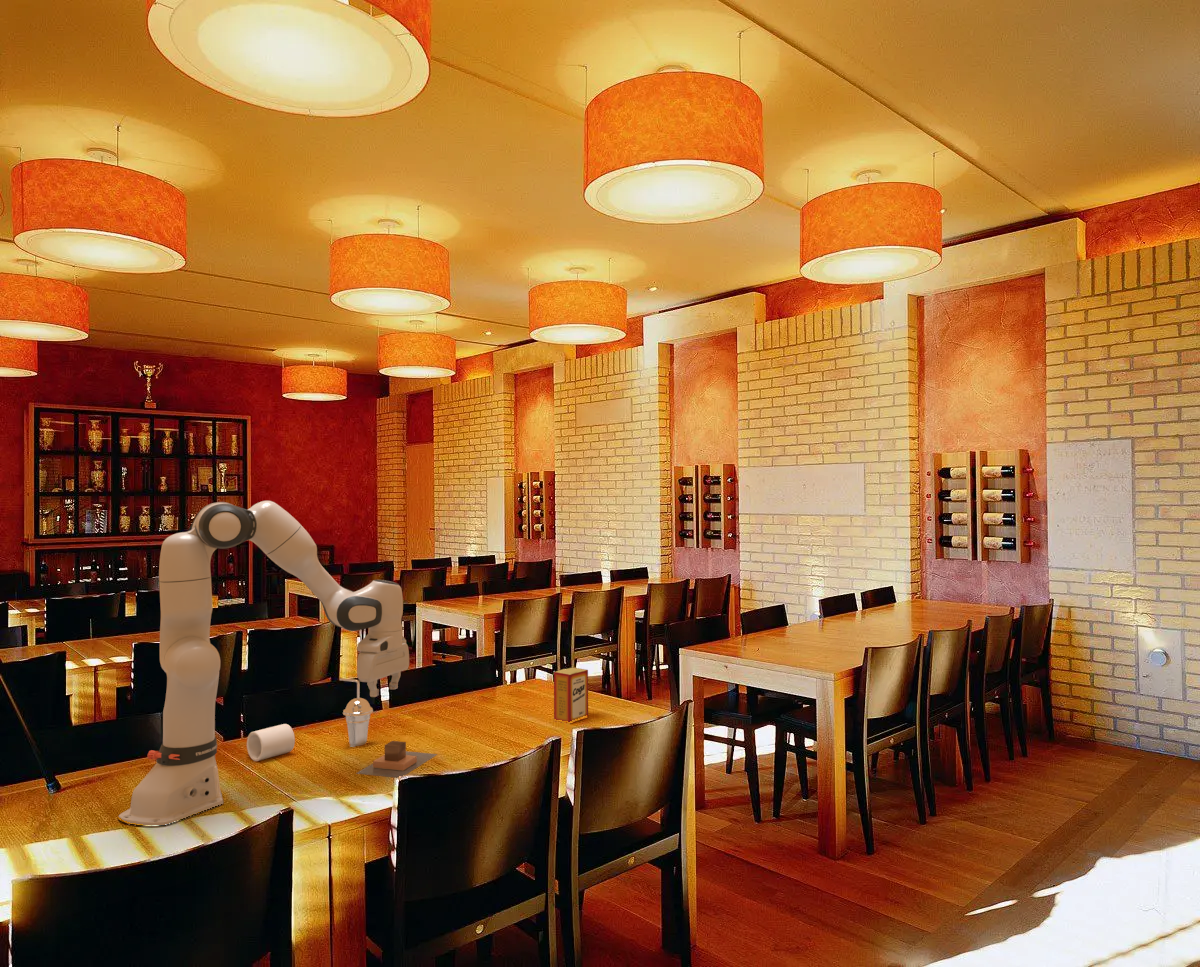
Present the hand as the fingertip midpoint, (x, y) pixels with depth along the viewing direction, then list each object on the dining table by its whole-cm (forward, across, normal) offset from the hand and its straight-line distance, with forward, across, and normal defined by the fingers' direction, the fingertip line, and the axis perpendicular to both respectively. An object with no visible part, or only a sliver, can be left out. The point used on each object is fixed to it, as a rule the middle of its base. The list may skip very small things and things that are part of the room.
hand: (384, 692), depth 217 cm
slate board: (+20, -3, +3) cm, 20 cm away
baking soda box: (+19, -60, +33) cm, 71 cm away
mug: (+21, -1, -38) cm, 43 cm away
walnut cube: (+17, -1, +3) cm, 18 cm away
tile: (+18, +2, +3) cm, 19 cm away
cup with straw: (+20, -16, -18) cm, 31 cm away
